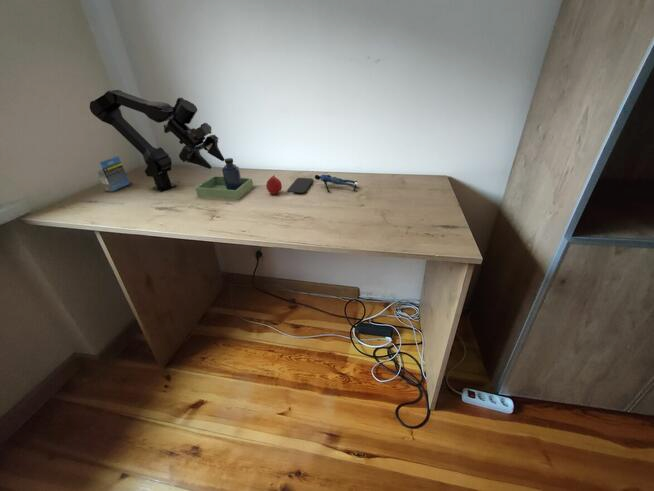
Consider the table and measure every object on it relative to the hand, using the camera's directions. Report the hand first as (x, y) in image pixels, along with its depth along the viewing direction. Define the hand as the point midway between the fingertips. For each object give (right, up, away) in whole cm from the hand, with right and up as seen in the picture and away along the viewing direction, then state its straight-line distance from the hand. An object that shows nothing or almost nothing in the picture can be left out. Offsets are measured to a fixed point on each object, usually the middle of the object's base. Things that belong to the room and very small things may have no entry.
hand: (217, 164), depth 112 cm
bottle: (+5, -10, +5) cm, 12 cm away
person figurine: (+45, -8, +8) cm, 47 cm away
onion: (+21, -11, +3) cm, 24 cm away
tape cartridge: (-47, -6, +13) cm, 49 cm away
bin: (+1, -10, +6) cm, 12 cm away
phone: (+31, -7, +10) cm, 33 cm away
